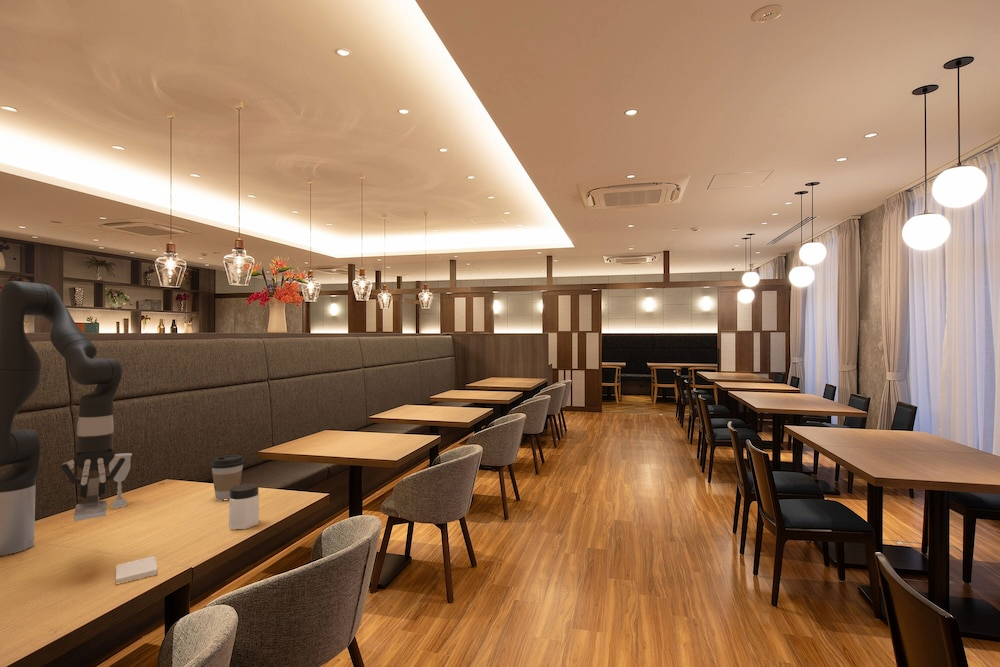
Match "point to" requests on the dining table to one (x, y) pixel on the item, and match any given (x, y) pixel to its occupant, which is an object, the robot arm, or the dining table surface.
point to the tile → (136, 569)
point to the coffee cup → (226, 474)
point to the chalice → (120, 479)
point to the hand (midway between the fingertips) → (93, 496)
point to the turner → (91, 503)
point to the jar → (243, 506)
